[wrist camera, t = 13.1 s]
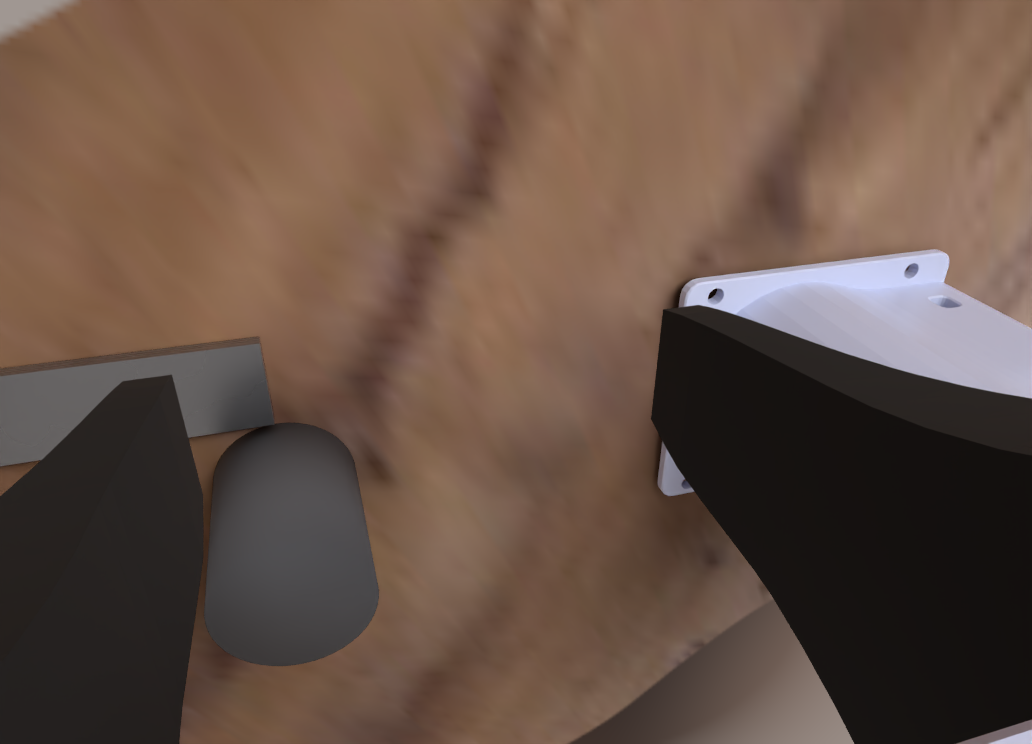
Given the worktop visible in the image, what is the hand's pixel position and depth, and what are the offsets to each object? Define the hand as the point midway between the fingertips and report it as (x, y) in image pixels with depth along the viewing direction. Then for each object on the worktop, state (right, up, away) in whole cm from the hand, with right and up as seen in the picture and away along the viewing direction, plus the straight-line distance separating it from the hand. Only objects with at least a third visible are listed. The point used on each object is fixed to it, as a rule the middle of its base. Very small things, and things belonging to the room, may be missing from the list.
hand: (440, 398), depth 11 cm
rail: (-11, -1, +8) cm, 13 cm away
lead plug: (-6, -3, +11) cm, 13 cm away
